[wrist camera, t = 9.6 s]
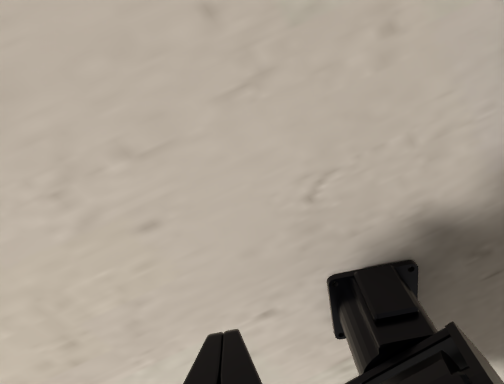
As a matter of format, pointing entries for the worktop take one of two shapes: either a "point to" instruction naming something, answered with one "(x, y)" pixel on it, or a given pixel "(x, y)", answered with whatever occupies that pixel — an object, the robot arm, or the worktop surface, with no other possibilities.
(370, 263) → the worktop surface
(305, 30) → the worktop surface
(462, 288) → the worktop surface
